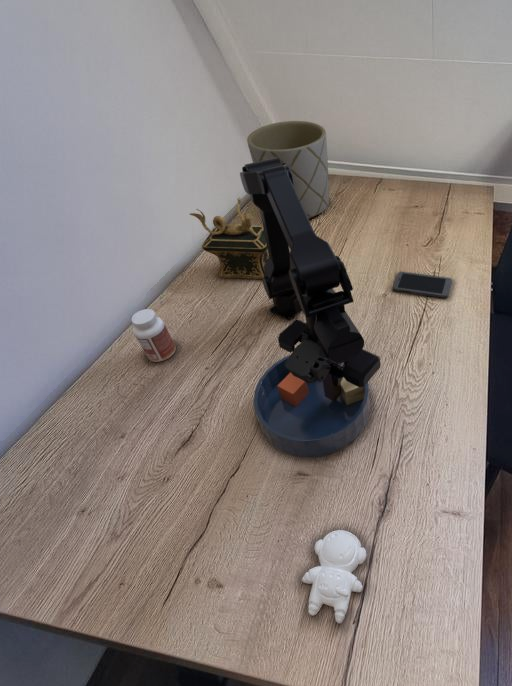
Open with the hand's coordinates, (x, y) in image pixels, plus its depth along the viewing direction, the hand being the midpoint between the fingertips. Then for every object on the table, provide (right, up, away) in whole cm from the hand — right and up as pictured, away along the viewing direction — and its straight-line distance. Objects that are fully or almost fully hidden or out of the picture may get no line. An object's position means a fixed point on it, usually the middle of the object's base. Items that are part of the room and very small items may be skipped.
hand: (332, 382), depth 85 cm
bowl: (-4, -6, +3) cm, 7 cm away
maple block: (+4, -3, +4) cm, 6 cm away
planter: (-16, +48, +62) cm, 80 cm away
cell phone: (+21, +20, +29) cm, 41 cm away
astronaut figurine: (+2, -26, -19) cm, 32 cm away
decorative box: (-28, +25, +38) cm, 54 cm away
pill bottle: (-39, +4, +16) cm, 43 cm away
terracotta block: (-8, -3, +5) cm, 10 cm away
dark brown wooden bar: (0, -3, +2) cm, 4 cm away
